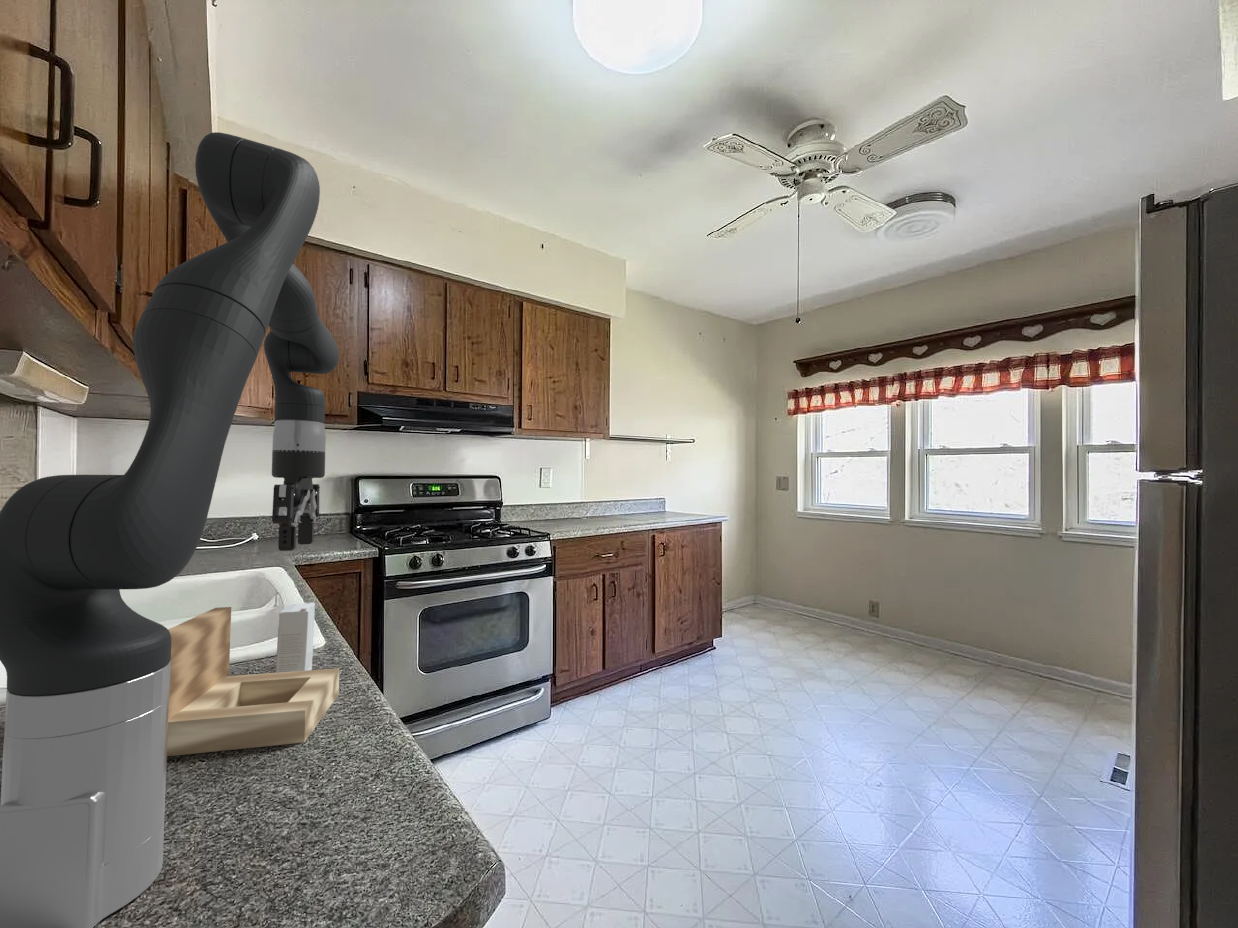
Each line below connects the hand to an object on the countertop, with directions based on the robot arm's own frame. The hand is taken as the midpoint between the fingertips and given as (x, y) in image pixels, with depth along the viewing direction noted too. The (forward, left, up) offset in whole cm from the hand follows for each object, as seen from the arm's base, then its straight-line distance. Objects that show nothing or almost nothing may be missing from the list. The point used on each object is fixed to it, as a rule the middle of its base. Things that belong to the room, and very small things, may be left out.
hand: (296, 547), depth 85 cm
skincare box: (0, 0, -22) cm, 22 cm away
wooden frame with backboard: (-15, -1, -22) cm, 27 cm away
